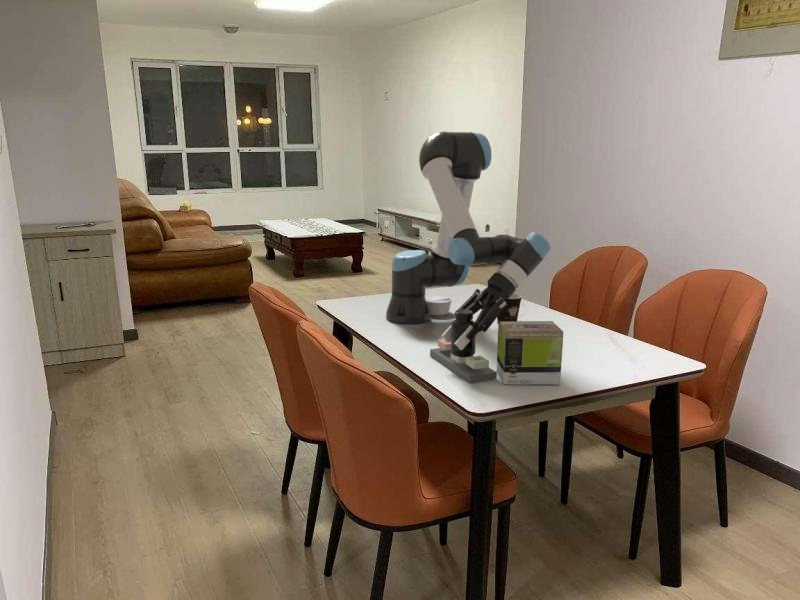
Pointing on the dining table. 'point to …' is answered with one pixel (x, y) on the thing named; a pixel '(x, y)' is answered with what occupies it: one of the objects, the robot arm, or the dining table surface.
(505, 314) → the coffee mug
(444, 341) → the key
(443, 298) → the ramekin
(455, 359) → the key mid
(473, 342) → the supplement bottle
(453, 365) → the board
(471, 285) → the dining table surface
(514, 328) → the tea box
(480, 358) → the key
